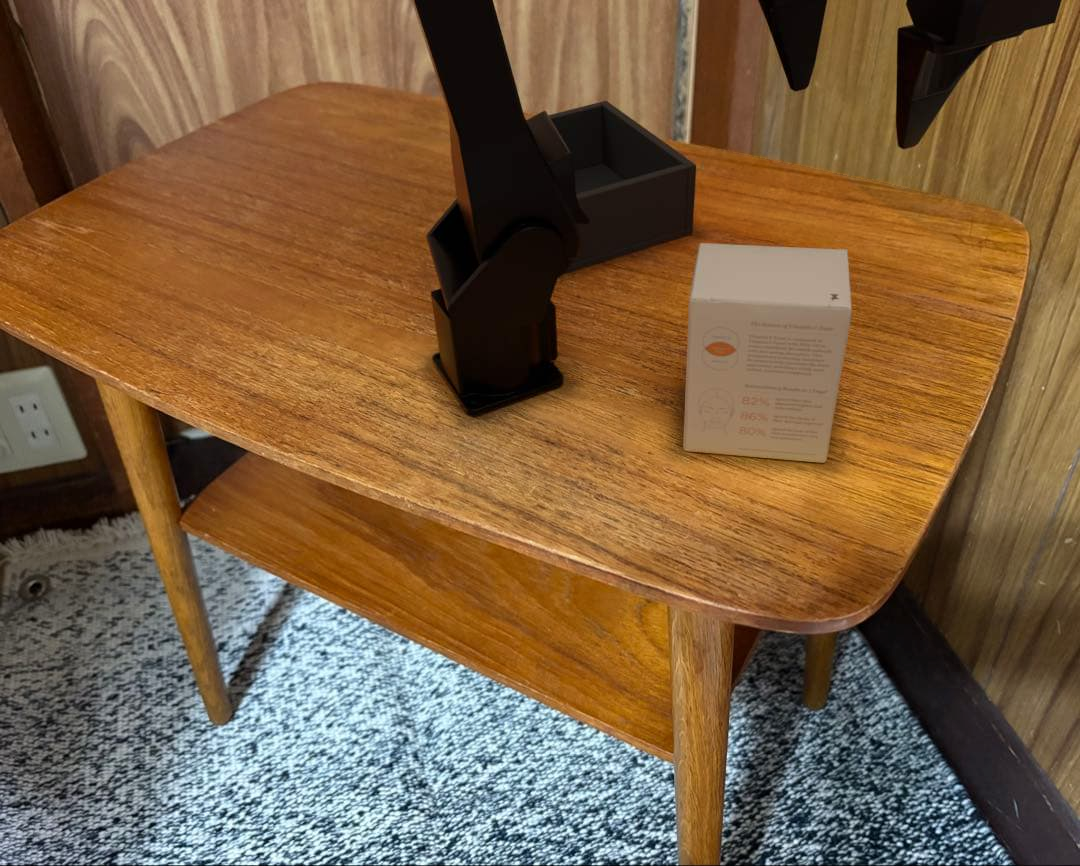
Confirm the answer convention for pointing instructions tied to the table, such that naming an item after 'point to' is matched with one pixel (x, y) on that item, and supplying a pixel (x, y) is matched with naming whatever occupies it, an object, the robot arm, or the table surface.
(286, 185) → the table surface
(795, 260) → the small box
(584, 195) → the storage bin
